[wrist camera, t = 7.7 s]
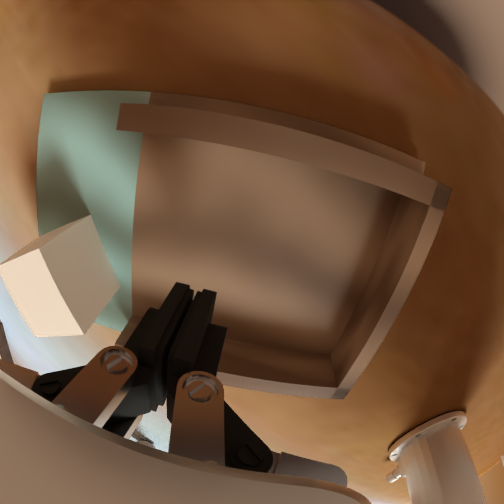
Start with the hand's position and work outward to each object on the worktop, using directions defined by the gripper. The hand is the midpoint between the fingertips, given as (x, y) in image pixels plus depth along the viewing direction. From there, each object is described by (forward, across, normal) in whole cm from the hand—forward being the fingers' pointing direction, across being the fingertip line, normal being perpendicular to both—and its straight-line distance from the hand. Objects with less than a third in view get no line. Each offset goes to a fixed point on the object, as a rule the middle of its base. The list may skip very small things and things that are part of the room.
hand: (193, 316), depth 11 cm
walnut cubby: (+6, +2, -1) cm, 6 cm away
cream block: (+5, +9, +2) cm, 10 cm away
